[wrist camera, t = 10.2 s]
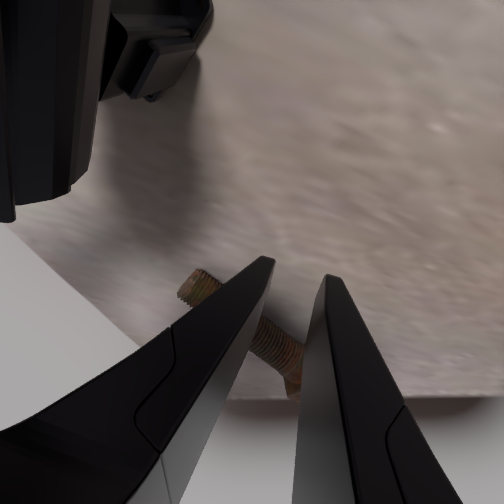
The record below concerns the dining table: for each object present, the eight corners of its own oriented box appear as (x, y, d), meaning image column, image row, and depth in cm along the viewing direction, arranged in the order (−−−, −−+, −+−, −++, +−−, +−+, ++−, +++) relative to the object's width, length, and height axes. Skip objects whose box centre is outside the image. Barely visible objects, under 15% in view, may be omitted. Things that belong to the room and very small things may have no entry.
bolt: (208, 250, 28) (324, 341, 30) (176, 289, 28) (291, 375, 31) (199, 268, 22) (343, 378, 25) (159, 316, 23) (302, 418, 25)
